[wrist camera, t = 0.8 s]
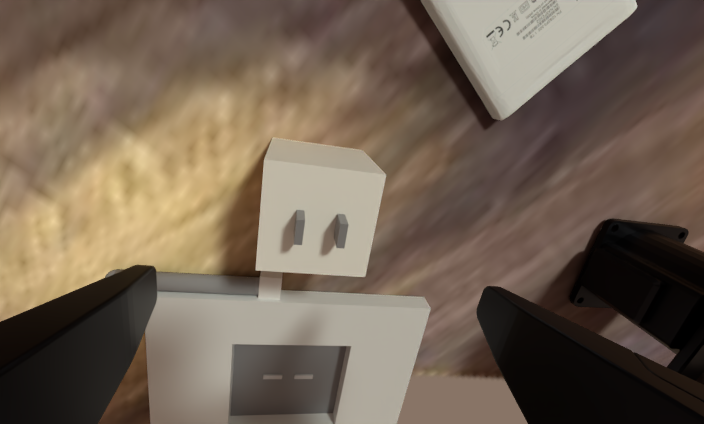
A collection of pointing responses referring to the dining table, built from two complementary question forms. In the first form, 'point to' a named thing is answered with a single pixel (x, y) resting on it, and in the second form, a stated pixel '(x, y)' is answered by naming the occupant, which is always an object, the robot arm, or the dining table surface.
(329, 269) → the charger brick
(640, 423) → the robot arm
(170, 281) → the grey bar
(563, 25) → the external hard drive
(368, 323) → the outlet plate
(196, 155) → the dining table surface
